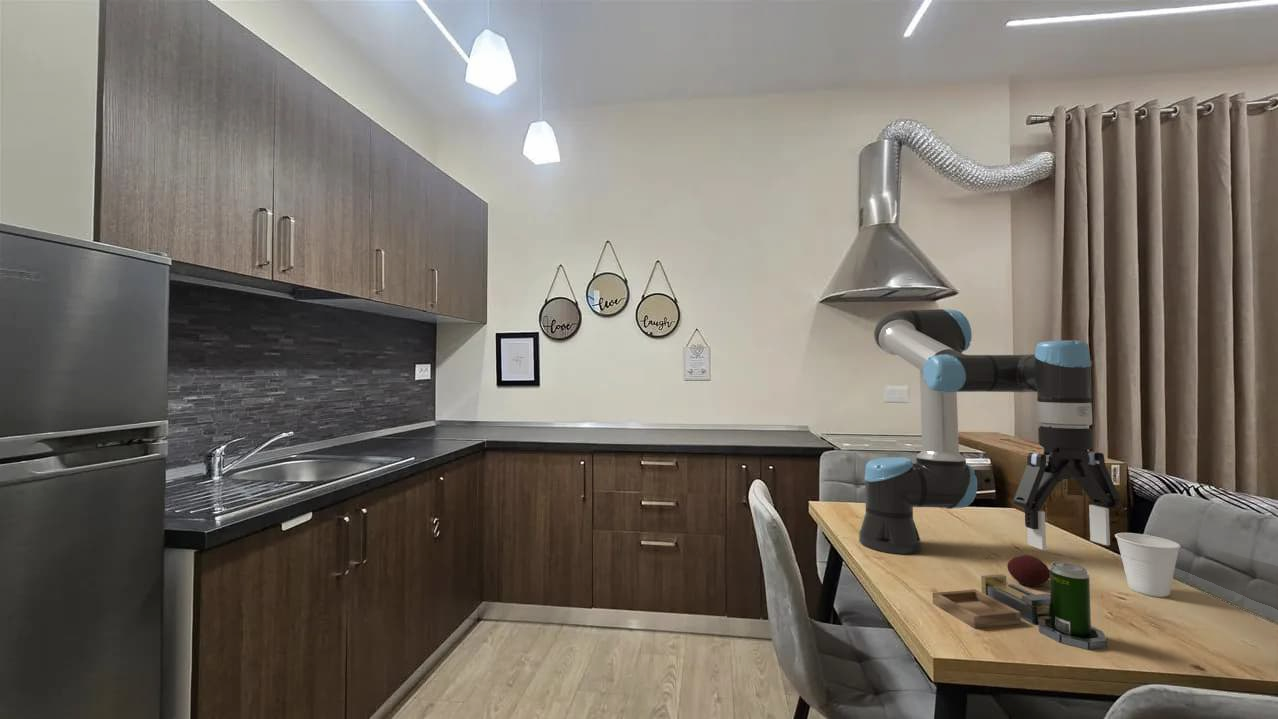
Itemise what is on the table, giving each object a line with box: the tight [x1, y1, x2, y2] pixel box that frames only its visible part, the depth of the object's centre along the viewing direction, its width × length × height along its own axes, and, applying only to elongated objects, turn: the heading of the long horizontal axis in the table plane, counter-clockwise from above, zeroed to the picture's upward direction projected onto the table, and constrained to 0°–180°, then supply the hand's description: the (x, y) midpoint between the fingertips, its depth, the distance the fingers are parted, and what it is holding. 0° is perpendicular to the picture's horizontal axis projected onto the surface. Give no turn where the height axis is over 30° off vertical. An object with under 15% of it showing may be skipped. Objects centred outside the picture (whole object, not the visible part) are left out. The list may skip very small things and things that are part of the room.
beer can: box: [1049, 561, 1092, 639], centre depth 88 cm, size 5×5×12 cm
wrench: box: [988, 583, 1108, 651], centre depth 93 cm, size 18×9×4 cm, turn 10°
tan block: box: [980, 573, 1050, 621], centre depth 98 cm, size 11×5×4 cm, turn 10°
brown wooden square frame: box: [932, 588, 1022, 629], centre depth 96 cm, size 10×10×2 cm
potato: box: [1006, 554, 1050, 587], centre depth 110 cm, size 8×9×6 cm
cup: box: [1114, 532, 1182, 598], centre depth 106 cm, size 10×10×11 cm
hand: (1068, 545), depth 88 cm, fingers open, 13 cm apart
